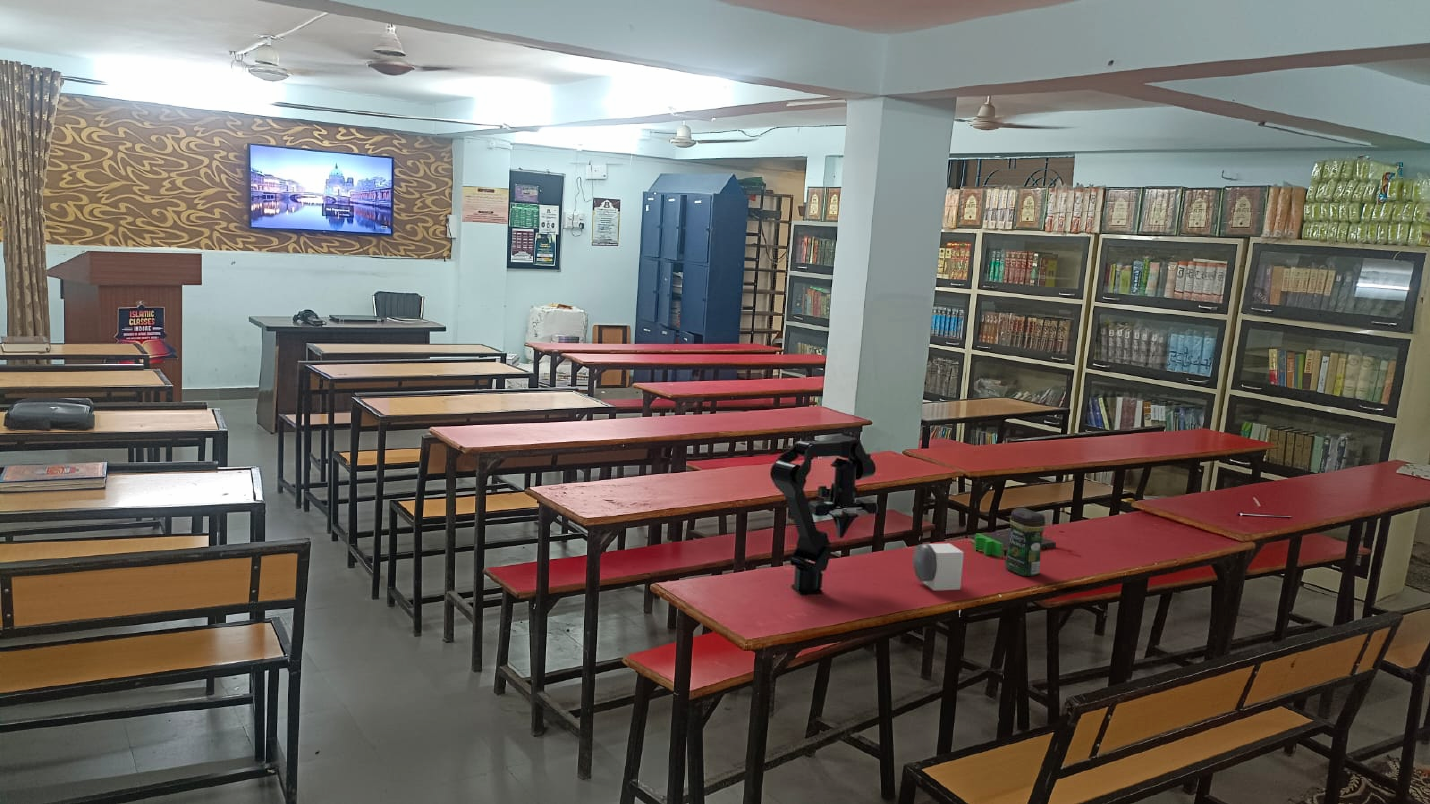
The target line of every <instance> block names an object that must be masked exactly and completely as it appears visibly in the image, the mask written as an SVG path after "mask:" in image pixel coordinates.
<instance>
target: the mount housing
mask: <svg viewBox="0 0 1430 804" xmlns="http://www.w3.org/2000/svg"><path fill="white" fill-rule="evenodd" d="M927 544H928V545H930V546H931V547H932V548H933V550H934V552H935V555H936V561H937V569H936V574H935V577H934V579H933V580H932V581H921V583H923V584H925V585H926V586H927V587H928V588H929V589H931V590H932V591H950V590H951V591H952V590H953V591H954V590H961V586H962V585H961V584H962V583H961V582H962V574H963V565H964V554H965V553H964V551H963V550H961V549H959V548H958V547H956V546H954V545H953V544H952V543H927Z"/></svg>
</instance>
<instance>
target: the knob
mask: <svg viewBox="0 0 1430 804" xmlns="http://www.w3.org/2000/svg"><path fill="white" fill-rule="evenodd" d="M928 544H929V543H924V544H921V543H920V544H918V545H916V547H915V548H914V551H913V556H912V562H913V564H912V565H913V570H914V573H915V576H916V578H917V579H918V580H919V581H920V582H922V581H932V580H933V579H934V577H935V574H936V569H937V561H936V555H935V552H934V550H933V548H932V547H931V546H930V545H928Z"/></svg>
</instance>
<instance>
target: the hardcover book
mask: <svg viewBox="0 0 1430 804" xmlns="http://www.w3.org/2000/svg"><path fill="white" fill-rule="evenodd" d="M1010 533H1011V529H1008V530H999V531H994V532H985V533H980V534H981V535H984V536H986V537H988V538H991V539H993V540H995V541H998V542H1000V543H1002V544H1003V547H1002V554H1004V555H1005V556H1007V555H1006V554H1007V551H1008V546H1009V540H1010ZM997 534H999V535H997ZM966 537H967V538H968V539H973V540H968V539H967V541H968V542H969V541H972V542H974V543H975V534H972V535H971V534H970V535H967V536H966ZM974 543H973V544H974ZM1056 546H1057V543H1056V541H1053V540H1051V539H1048V538H1045V537H1043V536H1042V540H1041V549H1044V550H1046V549H1045V548H1050V549H1054V548H1053V547H1056Z"/></svg>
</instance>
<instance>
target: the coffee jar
mask: <svg viewBox="0 0 1430 804" xmlns="http://www.w3.org/2000/svg"><path fill="white" fill-rule="evenodd" d="M1009 523H1010V530H1011V533H1010V540H1009V546H1008V551H1007V555H1005V556H1006V558H1005V565H1004V566H1005V568H1006V570H1009V571H1011V572H1013V573H1015V574H1017V575H1019V576H1023V577H1024V576H1025V577H1026V576H1028V577H1035V576H1037V575H1038V574H1040V573H1041V572H1040V571H1041V555H1042V554H1041V553H1042V552H1041V551H1042V550H1041V540H1042V537H1043V532H1044V530H1045V528H1046V518H1045V515H1044V514H1043V513H1040V512H1039V513H1038V512H1036V511H1033V510H1031V509H1028V508H1026V507H1018V508H1013V510H1012V511H1011V515H1010V519H1009Z"/></svg>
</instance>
